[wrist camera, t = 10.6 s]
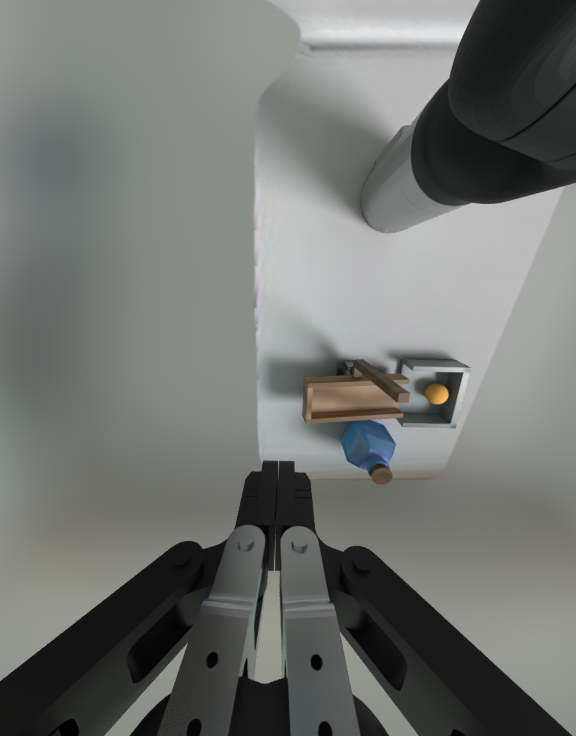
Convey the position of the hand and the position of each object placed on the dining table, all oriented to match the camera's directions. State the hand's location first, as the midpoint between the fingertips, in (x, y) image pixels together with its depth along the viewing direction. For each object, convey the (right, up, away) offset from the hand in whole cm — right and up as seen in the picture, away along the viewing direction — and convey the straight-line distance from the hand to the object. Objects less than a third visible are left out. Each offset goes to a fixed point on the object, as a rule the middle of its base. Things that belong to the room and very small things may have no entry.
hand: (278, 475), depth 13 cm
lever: (+11, +2, +33) cm, 35 cm away
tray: (+25, +1, +36) cm, 44 cm away
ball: (+27, +1, +35) cm, 44 cm away
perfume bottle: (+15, -7, +40) cm, 43 cm away
